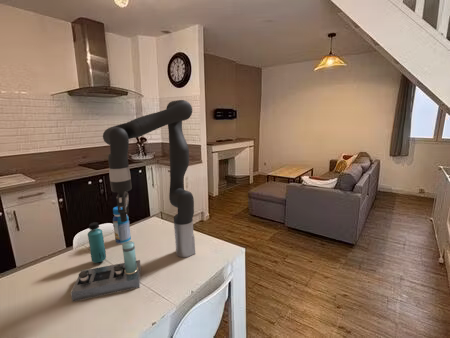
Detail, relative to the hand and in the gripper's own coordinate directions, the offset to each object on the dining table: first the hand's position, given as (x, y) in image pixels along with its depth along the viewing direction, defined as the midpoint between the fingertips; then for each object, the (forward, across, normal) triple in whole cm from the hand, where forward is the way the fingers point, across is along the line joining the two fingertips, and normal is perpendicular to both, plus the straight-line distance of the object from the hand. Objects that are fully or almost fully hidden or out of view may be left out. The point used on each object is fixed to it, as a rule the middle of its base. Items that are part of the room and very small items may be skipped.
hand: (125, 217), depth 97 cm
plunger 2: (+26, 0, +5) cm, 27 cm away
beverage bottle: (+28, +19, +16) cm, 38 cm away
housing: (+28, 0, +9) cm, 29 cm away
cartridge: (+24, 0, 0) cm, 24 cm away
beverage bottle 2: (+28, +38, +7) cm, 48 cm away
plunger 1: (+26, 0, +18) cm, 32 cm away
